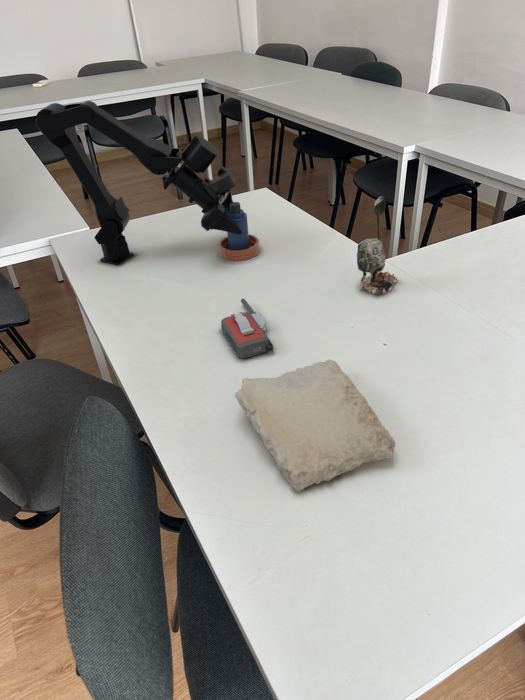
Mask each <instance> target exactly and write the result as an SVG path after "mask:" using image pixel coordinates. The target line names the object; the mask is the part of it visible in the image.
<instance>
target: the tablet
mask: <svg viewBox="0 0 525 700" xmlns="http://www.w3.org/2000/svg"><path fill="white" fill-rule="evenodd" d="M241 384H242V385H241V388H239V389H238V390H237V391H236V392H235V393H234V397H235V398H236V399H237V402H238V404H239V406H240V407H241V408H242V410H244V412H245V413H246V417H247V418H248V419H249V420H250V423H251V424H252V428H253V429H254V431H256V432H257V434H258V435H260V437H261V438H262V442H263V445H264V447H265V448H266V449H267V451H268V452H269V454H270V455H271V457H273V459H274V460H275V463H276V465H277V467H278V469H279V471H280V472H282V475H283V478H284V479H286V480H287V483H288V485H290V487H291V488H292V489H294V490H296V491H303V490H305V489H306V488H308V487H309V486H313V485H314V484H315V485H318V484H321V482H330V481H332V479H333V478H335V477H337V476H340V475H341V474H345V473H347V472H351V471H354V470H355V469H356V468H357V467H358V468H359V467H361V465H362V464H364V463H366V462H372V461H377V462H379V461H381V459H392V458H394V451H395V448H396V440H395V439H394V437H393V436H392V435H391V434H390V432H389V430H388V429H386V427H385V426H384V425H382V422H381V420H380V418H379V417H378V415H377V414H376V412H375V411H374V409H373V408H372V407H371V406H370V403H369V402H368V400H367V399H366V398H365V396H364V395H363V394H362V393H361V392H360V391H359V389H358V388H357V386H356V385H355V383H354V382H352V380H351V378H350V377H349V376H348V375H347V374H346V373H345V372H344V371H343V370H342V368H341V367H340V365H339V363H338V362H336V361H335V360H333V359H327V360H324V361H318V362H315V363H313V364H310V365H306V366H303V367H297V368H296V369H295V370H291V371H286V372H284V373H282V374H281V375H280V376H277V377H253V378H249V377H244V378H242V380H241Z"/></svg>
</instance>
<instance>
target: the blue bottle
mask: <svg viewBox="0 0 525 700" xmlns="http://www.w3.org/2000/svg"><path fill="white" fill-rule="evenodd" d="M228 216H229V217H230V218H231V219H232V220H233V221H234V223H235V224H236V225H237V226H238V227H239V228H240V229H241V230H242V233H241V234H240V235H238V234H234V233H230V232H226V235H227V236H228V244H229V250H244V249H248V248H250V245H249V234H250V233H249V226H248V225H249V223H248V214H247V212H245V211H244V210H243V209H241V203H240V202H238V201H233V202H232V203H230V210H229V211H228Z"/></svg>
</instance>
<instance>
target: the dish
mask: <svg viewBox="0 0 525 700" xmlns="http://www.w3.org/2000/svg"><path fill="white" fill-rule="evenodd" d="M248 234H249V245H250V248H248V249H244V250H229V244H228V235H227V236H225V237H223V238H222V239H221V240H220V241H219V242H218V251H219V256H220V257H221V258H222V259H224V260H226V261H232V262H241V261H247V260H251V259H253V258H255V257H256V256H258V255H259V253H260V252H261V251H260V250H261V247H260V239H259V237H257V236H256V235H253V234H250V233H248Z"/></svg>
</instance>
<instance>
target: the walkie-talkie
mask: <svg viewBox="0 0 525 700" xmlns="http://www.w3.org/2000/svg"><path fill="white" fill-rule="evenodd" d="M240 303H241V304H242V306H243V307H244V308H245V309H246V311H247V312H246V311H244V312H243V311H238V312H235V313H232V314H231V315H230V316H227V317H224V318H222V319H221V320H220V323H221V324H220V326H221V331H222V333H223V334H224V336H225V337H226V339H227V341H228V342H229V344H230V345H231V347H232V349H233V350H234V351H235V353H236V355H237V357H238V358H240V359H247V358H250V357H254V356H257V355H261V354H264V353H267V352H271V351H273V350H274V344H273V343H272V341H271V340H270V338H269V337H268V335H267V333H266V331H267V321H266V319H265V318H264V317H263V315H262V313H261V312H260V311H258V312H256V311H255V310H254V309H253V308H252V306H250V304H249V303H248V301H247V300H246V299H245V298H241V299H240Z"/></svg>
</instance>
